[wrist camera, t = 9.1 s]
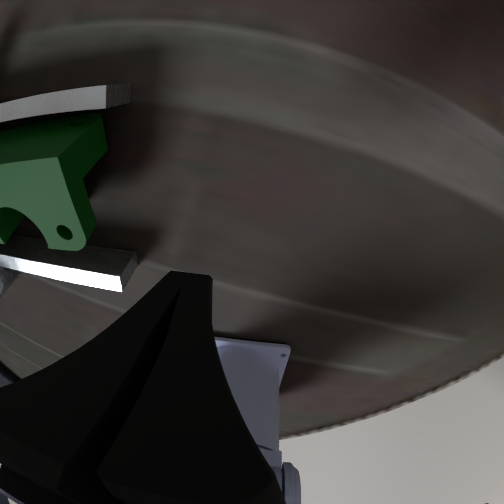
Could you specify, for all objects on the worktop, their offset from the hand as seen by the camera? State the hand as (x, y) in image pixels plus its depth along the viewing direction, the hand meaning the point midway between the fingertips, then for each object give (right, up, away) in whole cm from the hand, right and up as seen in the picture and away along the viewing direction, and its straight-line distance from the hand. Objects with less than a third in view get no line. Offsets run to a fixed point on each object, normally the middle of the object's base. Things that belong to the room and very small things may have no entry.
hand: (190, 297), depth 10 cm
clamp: (-12, +7, +8) cm, 16 cm away
